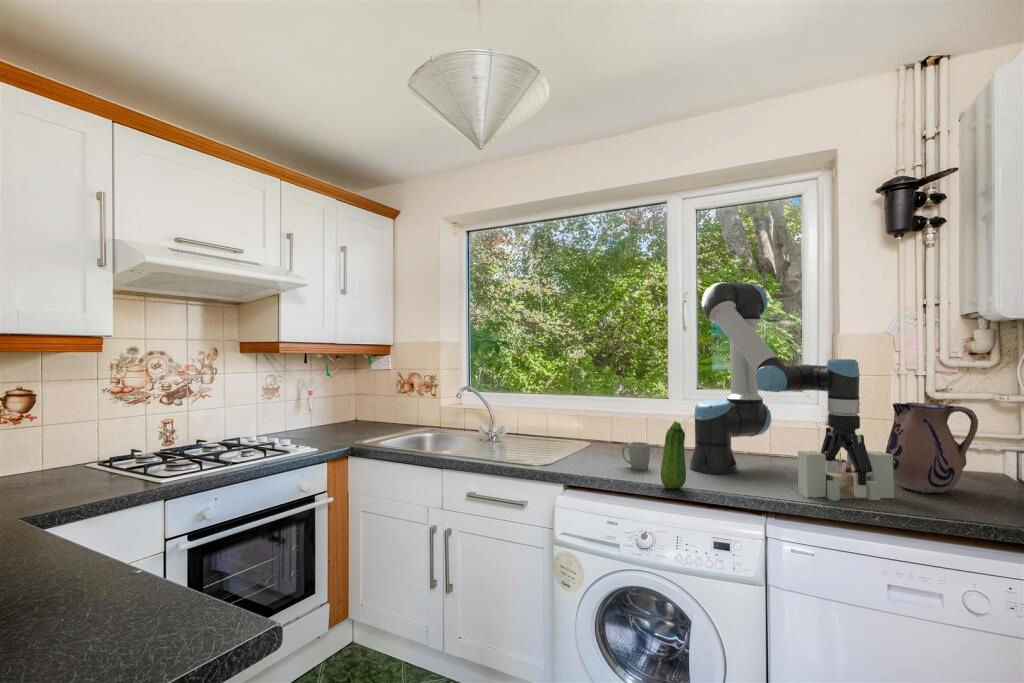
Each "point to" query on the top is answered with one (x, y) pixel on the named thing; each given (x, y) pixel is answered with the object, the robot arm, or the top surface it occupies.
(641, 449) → the cup
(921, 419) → the ceramic pitcher
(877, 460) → the pale green fixture block
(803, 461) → the pale green stepped block
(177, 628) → the top surface
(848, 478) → the wooden block
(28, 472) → the top surface
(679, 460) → the vegetable
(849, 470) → the tow hook
